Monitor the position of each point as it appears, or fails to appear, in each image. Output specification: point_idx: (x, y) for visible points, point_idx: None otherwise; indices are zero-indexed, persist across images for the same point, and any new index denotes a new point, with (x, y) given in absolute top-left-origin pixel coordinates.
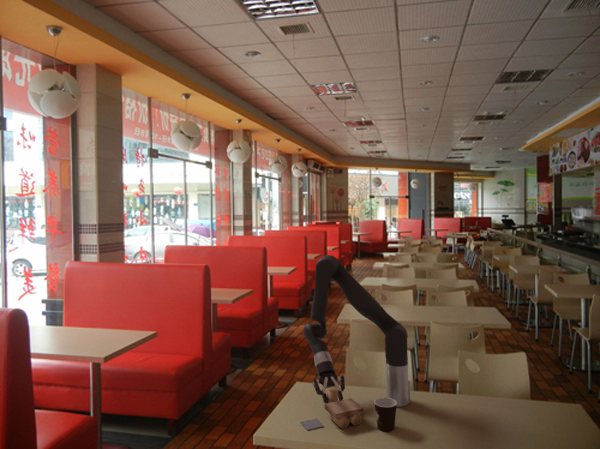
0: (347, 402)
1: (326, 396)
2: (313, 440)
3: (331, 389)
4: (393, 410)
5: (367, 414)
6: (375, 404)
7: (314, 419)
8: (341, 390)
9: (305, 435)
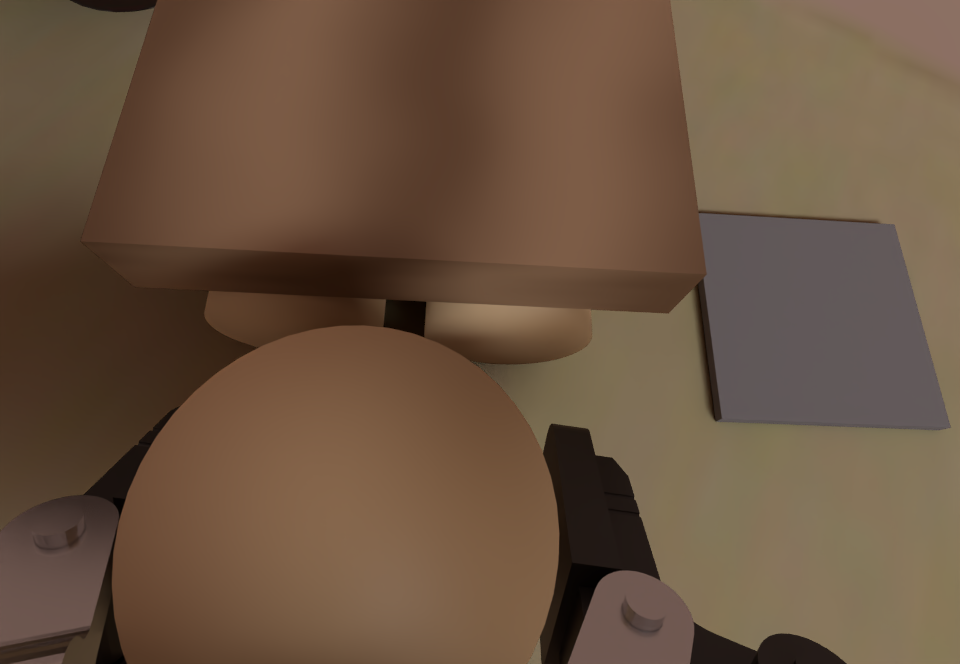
0: (276, 129)
1: (576, 499)
2: (859, 65)
3: (446, 418)
4: None
5: (46, 244)
6: None
7: (756, 405)
8: (24, 538)
9: (918, 163)
